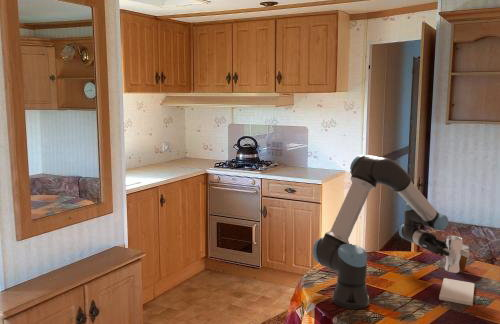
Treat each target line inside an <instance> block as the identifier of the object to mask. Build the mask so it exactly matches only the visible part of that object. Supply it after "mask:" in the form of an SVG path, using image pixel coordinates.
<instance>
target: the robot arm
mask: <svg viewBox="0 0 500 324" xmlns="http://www.w3.org/2000/svg"><path fill="white" fill-rule="evenodd" d="M349 170H350V172H349V173H350V175H351V176H350V181H351V185H350V187H349V189H348V191H347V193H346V196H345V197H344V200H343V202H342V203H341V206H340V209H339V211H338V213H337V215H336V217H335V220H334V222H333V224H332V227H331V228H330V230H329V231H327V232H325V233H324V236H322V237H320V238H319V239H316V240H315V242H314V244H313V247H312V248H313V249H312V255H313V258H314V260H315V262H317V263H318V264H319V265H321V266H323V267H324V268H327V269H329V270H331V271H333V272H335V273H337V276H336V277H337V278H336V279H337V280H336V281H337V282H336V285H335V288H334V289H333V293H332V299H331V300H332V302H333V304H334V305H336V306H338V307H340V308H343V309H346V310H348V309H349V310H361V309H365V308H367V307H368V306H369V304H370V296H369V294H368V290H367V286H366V282H367V281H366V279H367V266H368V265H367V264H368V259H367V257H368V254H367V251H366V250H365V249H364V248H363V247H362V246H359V245H357V244H352V243H350V242H349V238H350V236H351V234H352V233H353V229H354V227H355V225H356V223H357V221H358V219H359V216H360V214H361V212H362V209H363V207H364V205H365V203H366V201H367V198H368V196H369V194H370V192H371V191H373V190H375V189H376V187H377V185H384V186H386V187H388V189H389V188H390V189H391V191H393V193H398V195H399V196H400V197H401V198H402V199H403V200H404V201H405V202H406V203H405V205H404V214H403V215H404V218H403V224H402V225H401V226H400V227H399V228H398V233H399V236H400V237H401V238H402V239H403V240H405V241H408V242H410V243H413V244H414V245H418V246H419V248H420V247H421V248H423V249H426V250H427V251H430V252H431V253H433V254H435V255H439V256H440V257H444V256H445V257H446V256H447V257H450V258H452V259H454V260H456V253H454V252H452V251H450V250H447V249H445V243H446V239H443V240H440V238H439V239H438V238H437V237H436V235H434V234H433V233H430V232H428V231H426V230H423V229H421V226H424V227H427V228H430V229H433V230H438V231H444V230H446V228H447V227H448V225H449V218H448V216H447V215H446V214H443V213H439V212H438V211H437V209H435V207H434V206H433V205H432V204H431V203H430V201H428V200H427V198H426V197H425V196H424V195H423V193H422V192H421V191H420V190H419V189H418V188H417V186H416V185H415V184H414V183H413V182H412V178H411V175H409V174H408V172H407V171H406V170H405V169H404V168H403V167H402V166H401V165H400V164H398V163H397V162H396V161H394V160H392V159H390V158H389V157H381V156H376V155H372V154H359V155H358V156H356V157H355V158H354V159H353V160H352V162H351V164H350V167H349ZM461 255H462V256H465V257H467V259H469V258H470V251H467V250H464V249H462V253H461Z"/></svg>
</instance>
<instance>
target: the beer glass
mask: <svg viewBox="0 0 500 324" xmlns="http://www.w3.org/2000/svg"><path fill="white" fill-rule="evenodd" d="M445 240H446V243H445V249H447V250H450V251H452V252H454V253H456V260H454V259H452V258H450V257H447V256H445V265H444V271H446V272H448V273H454V274H456V273H459V272H460V271H459V261H460V257H461V253H462V246H463V243H464V242H463V237H461V236H459V235H453V234H451V235H447V236H446V238H445Z"/></svg>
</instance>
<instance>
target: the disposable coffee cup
mask: <svg viewBox="0 0 500 324" xmlns="http://www.w3.org/2000/svg"><path fill="white" fill-rule="evenodd" d="M462 249H464V250H467V251H469V252H470V251H471V249H470V247H469V245H467V244H463V246H462ZM467 260H468V258H467V257H465V256H462V255H461V257H460V261H459V272H465V269H466V265H467Z"/></svg>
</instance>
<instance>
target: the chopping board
mask: <svg viewBox="0 0 500 324" xmlns="http://www.w3.org/2000/svg"><path fill="white" fill-rule="evenodd" d="M440 288H441V289H440V291H439V296H438V299H439V300H440V301H447V302H451V303H456V304H461V305H467V306H473V303H474V294H475V293H474V292H475V282H474V283H473V282H470V281H469V282H468V281H464V280H463V281H462V280H457V279H452V278H451V279H450V278H446V277H444V278H443V281H442V285H441V287H440Z"/></svg>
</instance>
